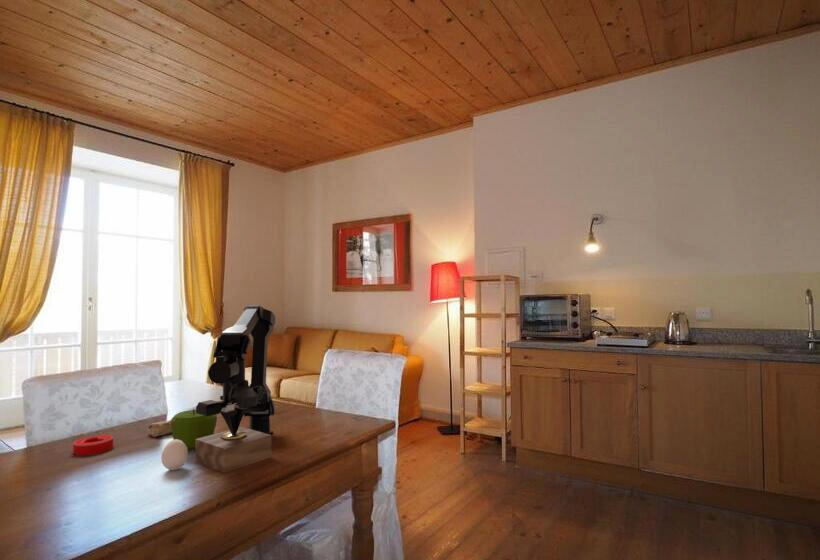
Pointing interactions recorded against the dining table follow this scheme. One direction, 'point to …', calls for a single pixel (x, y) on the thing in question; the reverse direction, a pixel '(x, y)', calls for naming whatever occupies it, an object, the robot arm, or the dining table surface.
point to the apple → (192, 427)
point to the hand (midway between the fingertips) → (233, 434)
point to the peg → (232, 437)
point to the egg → (174, 455)
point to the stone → (160, 428)
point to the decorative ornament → (93, 445)
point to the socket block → (232, 450)
